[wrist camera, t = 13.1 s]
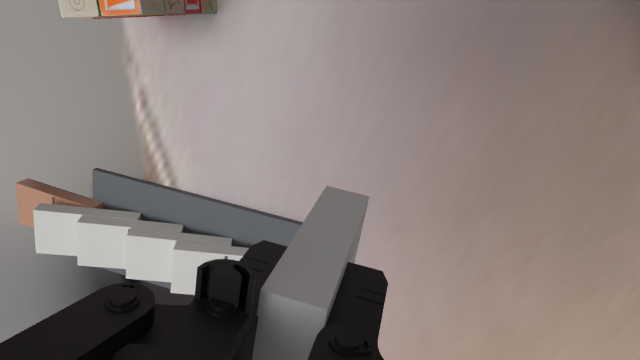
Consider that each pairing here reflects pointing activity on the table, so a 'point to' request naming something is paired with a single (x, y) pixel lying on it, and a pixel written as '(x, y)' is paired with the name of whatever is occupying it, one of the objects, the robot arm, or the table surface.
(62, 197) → the domino
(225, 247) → the domino
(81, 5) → the patterned cardboard box
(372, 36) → the table surface
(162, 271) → the domino
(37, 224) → the domino
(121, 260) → the domino
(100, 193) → the mat
